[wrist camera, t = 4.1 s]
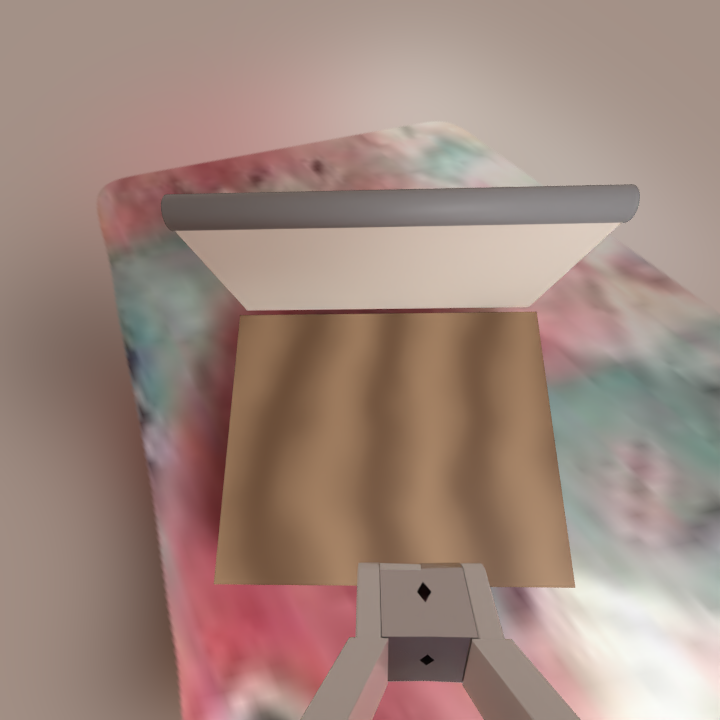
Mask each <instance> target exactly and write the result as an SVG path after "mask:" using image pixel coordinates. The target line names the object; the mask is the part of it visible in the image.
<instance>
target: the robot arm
mask: <svg viewBox="0 0 720 720" xmlns="http://www.w3.org/2000/svg"><path fill="white" fill-rule="evenodd" d="M388 681H439V682H461V683H463V687H464V688H465V690H466V691H467V693H468V695H469V696H470V698H471V699H472V701H473V703H474V704H475V706H476V708H477V709H478V711H479V712H480V714H481V716H482V717H483V719H484V720H581V719H580V718H579V717H578V716H577V715H576V714H575V713H574V711H573V710H572V709H571V708H570V707H569V706H568V704H567V703H566V702H565V701H564V700H563V699H562V697H561V696H560V695H559V694H558V693H557V692H556V690H555V689H554V688H553V687H552V686H551V685H550V683H549V682H548V681H547V680H546V679H545V678H544V676H543V675H542V674H541V673H540V672H539V671H538V669H537V668H536V667H535V666H534V665H533V664H532V663H531V661H530V660H529V659H528V658H527V657H526V656H525V654H524V653H523V652H522V651H521V650H520V649H519V647H518V646H517V645H516V644H515V643H514V642H513V640H512V639H505V638H504V634H503V631H502V627H501V624H500V620H499V616H498V613H497V609H496V606H495V602H494V599H493V595H492V592H491V588H490V585H489V581H488V577H487V574H486V570H485V568H484V566H483V565H482V564H481V563H359V564H358V574H357V609H356V637H349V639H348V641H347V642H346V644H345V646H344V647H343V649H342V651H341V652H340V654H339V656H338V657H337V659H336V661H335V663H334V664H333V666H332V668H331V669H330V671H329V673H328V674H327V676H326V678H325V679H324V681H323V683H322V684H321V686H320V688H319V689H318V691H317V693H316V695H315V696H314V698H313V700H312V701H311V703H310V705H309V706H308V708H307V710H306V711H305V713H304V715H303V716H302V718H301V720H372V719H373V717H374V715H375V712H376V710H377V708H378V705H379V703H380V701H381V699H382V696H383V694H384V692H385V689H386V687H387V685H388Z"/></svg>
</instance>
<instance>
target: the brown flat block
mask: <svg viewBox="0 0 720 720" xmlns="http://www.w3.org/2000/svg"><path fill="white" fill-rule="evenodd" d="M359 563H481V564H482V565H483V566H484V568H485V570H486V574H487V577H488V581H489V585H490V587H561V588H575V582H574V575H573V568H572V561H571V554H570V547H569V540H568V533H567V525H566V518H565V511H564V504H563V497H562V490H561V483H560V476H559V469H558V462H557V454H556V447H555V440H554V433H553V426H552V419H551V412H550V405H549V398H548V391H547V383H546V376H545V369H544V362H543V355H542V348H541V341H540V334H539V327H538V320H537V312H478V313H393V314H308V315H240V322H239V332H238V342H237V352H236V363H235V373H234V383H233V393H232V404H231V414H230V424H229V434H228V445H227V455H226V465H225V475H224V486H223V496H222V506H221V516H220V527H219V537H218V547H217V557H216V568H215V578H214V584H254V585H356V586H357V574H358V564H359Z"/></svg>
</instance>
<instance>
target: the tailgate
mask: <svg viewBox="0 0 720 720" xmlns="http://www.w3.org/2000/svg"><path fill="white" fill-rule="evenodd" d="M639 199H640V194H639V190H638V188H637V186H636V185H632V184H631V185H586V186H539V187H492V188H446V189H399V190H353V191H306V192H260V193H213V194H167V195H164V196H163V198H162V202H161V211H162V216H163V219H164V222H165V224H166V226H167V227H168V228H169V229H170V230H171V231H175V232H176V233H177V234H178V235H179V236H180V237H181V238H182V239H183V240H184V242H185V243H186V244H187V245H188V246H189V247H190V248H191V249H192V250H193V251H194V253H195V254H196V255H197V256H198V257H199V258H200V259H201V260H202V261H203V262H204V264H205V265H206V266H207V267H208V268H209V269H210V270H211V271H212V272H213V273H214V274H215V276H216V277H217V278H218V279H219V280H220V281H221V282H222V283H223V284H224V285H225V287H226V288H227V289H228V290H229V291H230V292H231V293H232V294H233V295H234V296H235V298H236V299H237V300H238V301H239V302H240V303H241V304H242V305H243V306H244V307H245V309H246V310H247V311H250V310H333V309H415V308H498V307H529V306H530V305H532V304H533V303H534V302H535V301H536V300H537V299H538V298H539V297H540V296H541V295H543V294H544V293H545V292H546V291H547V290H548V289H549V288H550V287H551V286H553V285H554V284H555V283H556V282H557V281H558V280H559V279H560V278H561V277H562V276H564V275H565V274H566V273H567V272H568V271H569V270H570V269H571V268H572V267H574V266H575V265H576V264H577V263H578V262H579V261H580V260H581V259H582V258H583V257H585V256H586V255H587V254H588V253H589V252H590V251H591V250H592V249H593V248H595V247H596V246H597V245H598V244H599V243H600V242H601V241H602V240H603V239H604V238H606V237H607V236H608V235H609V234H610V233H611V232H612V231H613V230H614V229H616V228H617V227H618V226H619V225H620V224H621V223H625V222H628V221H629V220H631V219H632V217H633V216H634V215H635V213H636V211H637V208H638V205H639Z"/></svg>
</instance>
